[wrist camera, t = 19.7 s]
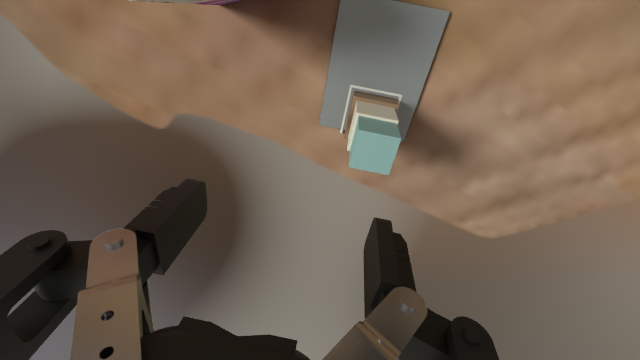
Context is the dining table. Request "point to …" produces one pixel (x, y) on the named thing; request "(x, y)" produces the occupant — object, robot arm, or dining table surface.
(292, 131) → the dining table surface
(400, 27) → the board
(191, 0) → the candy bar box
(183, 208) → the robot arm
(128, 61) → the dining table surface
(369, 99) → the walnut base
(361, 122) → the teal cube
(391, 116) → the cream cube
